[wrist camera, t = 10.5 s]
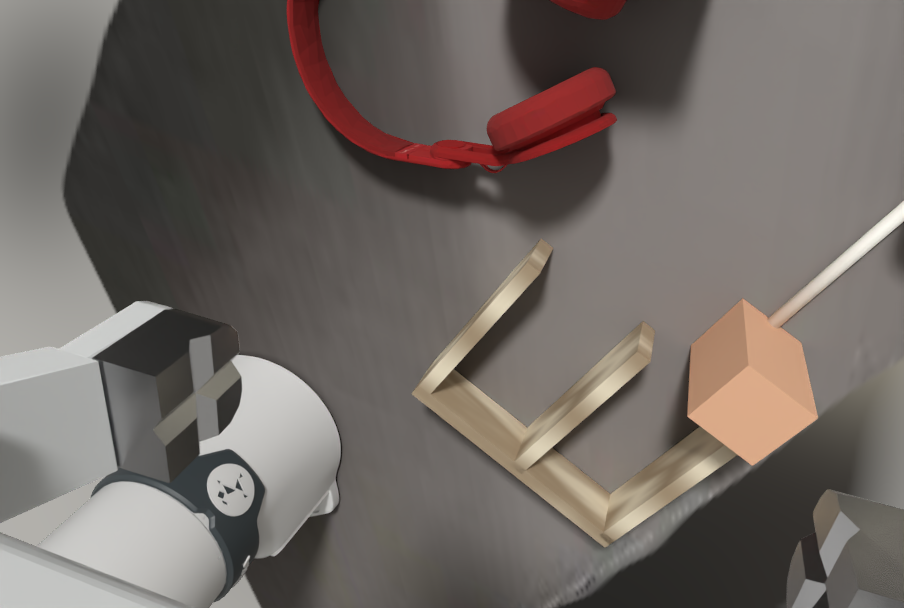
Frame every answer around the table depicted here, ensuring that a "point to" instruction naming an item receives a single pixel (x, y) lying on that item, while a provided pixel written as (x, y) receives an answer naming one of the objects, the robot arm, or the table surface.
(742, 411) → the block
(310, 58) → the headphones
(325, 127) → the table surface
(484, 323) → the lane shelf
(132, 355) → the robot arm
